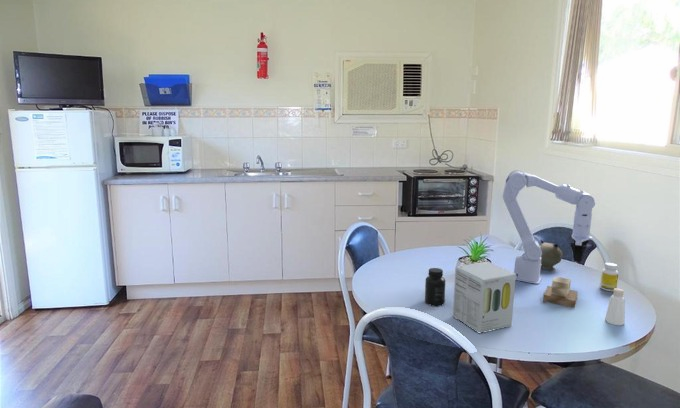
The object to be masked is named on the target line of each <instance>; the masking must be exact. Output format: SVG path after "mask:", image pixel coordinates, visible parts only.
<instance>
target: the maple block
mask: <svg viewBox="0 0 680 408" xmlns="http://www.w3.org/2000/svg"><path fill="white" fill-rule="evenodd" d="M571 281H572V279H569V278H564V277H559V276H554V278H553V279H552V281H551V286H552V290H551V294H554V295H558V296H563V297H567V296H568V294H569V292H570V290H571Z"/></svg>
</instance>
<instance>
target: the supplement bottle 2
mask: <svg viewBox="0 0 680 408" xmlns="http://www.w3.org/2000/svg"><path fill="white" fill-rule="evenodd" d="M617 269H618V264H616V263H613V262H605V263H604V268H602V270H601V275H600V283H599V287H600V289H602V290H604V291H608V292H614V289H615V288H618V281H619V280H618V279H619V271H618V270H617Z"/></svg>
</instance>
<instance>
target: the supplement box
mask: <svg viewBox="0 0 680 408" xmlns="http://www.w3.org/2000/svg"><path fill="white" fill-rule="evenodd" d="M515 279H516V274H515V273H514V271H510V270H508V269H506V268H503V267H501V266H499V265H496V264H494V263H492V262H489V261H483V262H477V263H470V264H464V265H458V266H455V273H454V287H453V304H452V317H453V316H454V317H456V318H457V319H459V320H460V321H462V322H464V323H465V324H467V325H468V326H470V327H471V328H473V329H474V330H476V331H478V332H484V331H489V330H493V329H498V330H500V329H499V328H502V329H504V327H506V328H510V327H512V324H513V313H514V300H515V291H516V290H515V289H516V288H515V287H516V280H515ZM454 317H453V318H454ZM456 318H455V319H456ZM457 319H456V320H457ZM459 320H458V321H459ZM460 321H459V322H460ZM462 322H461V323H462ZM465 324H464V325H465ZM468 326H467V327H468ZM509 326H510V327H509ZM471 328H470V329H471ZM474 330H473V331H474ZM493 331H494V330H493ZM489 332H490V331H489Z"/></svg>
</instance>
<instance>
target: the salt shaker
mask: <svg viewBox="0 0 680 408" xmlns="http://www.w3.org/2000/svg"><path fill="white" fill-rule="evenodd" d="M612 292H613V294H612V295H610V299H609V302H608V307H607V310H606V314H605V317H604V320H605V322H607V324H610V325H612V326H623V325H625V321H626V319H625V317H626V316H625V313H626V309H625V308H626V303H625V302H626V299H625V297H624V292H625V290H624V289H622V288H619V287H617V288H615V289H614V291H612Z"/></svg>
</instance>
